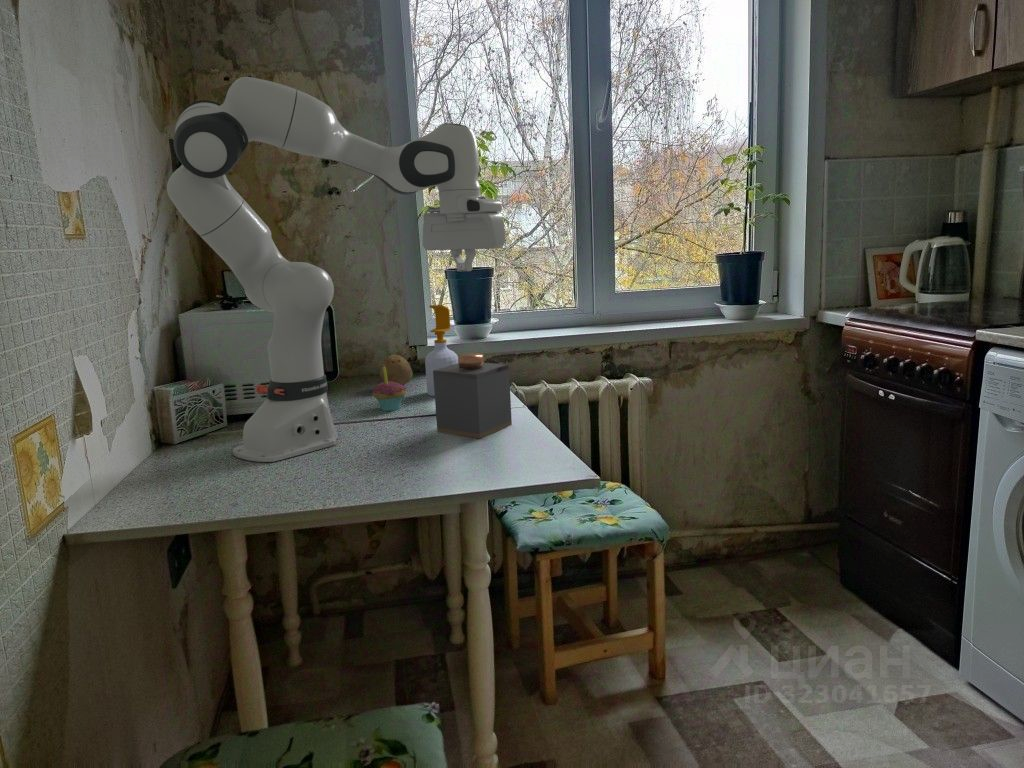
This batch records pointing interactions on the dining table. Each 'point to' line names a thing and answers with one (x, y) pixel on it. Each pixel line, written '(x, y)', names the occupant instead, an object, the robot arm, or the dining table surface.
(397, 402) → the cupcake
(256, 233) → the robot arm
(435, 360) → the soap bottle
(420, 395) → the dining table surface
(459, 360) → the plunger
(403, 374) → the natural sponge
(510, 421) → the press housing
